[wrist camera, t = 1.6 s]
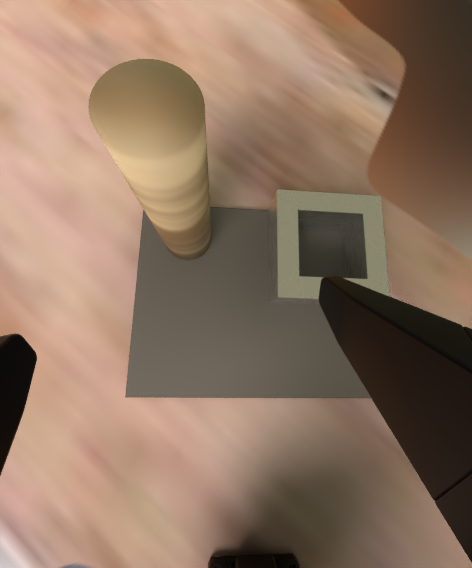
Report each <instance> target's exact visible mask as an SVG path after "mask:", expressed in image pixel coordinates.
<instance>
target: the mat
mask: <svg viewBox="0 0 472 568" xmlns="http://www.w3.org/2000/svg"><path fill="white" fill-rule="evenodd" d="M210 221H211V244H210V247H209V249H208V250H207V252H206V253H205V254H204V255H202V256H201V257H199V258H197V259H194V260H182V259H179V258H177V257H175V256H174V255H172V254H171V253H170V252H169V250H168V249H167V247H166V245H165V244H164V242H163V240H162V239H161V237H160V235H159V234H158V232H157V231H156V229H155V227H154V226H153V224H152V222H151V221H150V219H149V217H148V216H147V214H146V212H145V211H144V210H143V220H142V230H141V241H140V251H139V261H138V272H137V282H136V293H135V303H134V313H133V324H132V334H131V345H130V355H129V365H128V376H127V386H126V396H125V397H178V398H371V397H370V395H369V393H368V392H367V390H366V388H365V387H364V385H363V384H362V382H361V380H360V379H359V377H358V375H357V374H356V372H355V371H354V369H353V367H352V366H351V364H350V362H349V361H348V359H347V357H346V356H345V354H344V353H343V351H342V349H341V347H340V346H339V344H338V342H337V340H336V338H335V336H334V334H333V332H332V330H331V327H330V325H329V323H328V321H327V319H326V317H325V315H324V312H323V310H322V308H321V306H320V304H299V303H268V210H251V209H234V208H217V207H210ZM298 240H299V276H304V277H326V276H332V275H336V276H339V277H341V278H343V260H342V242H341V231H331V230H313V229H298Z"/></svg>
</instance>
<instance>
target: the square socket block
mask: <svg viewBox="0 0 472 568" xmlns="http://www.w3.org/2000/svg"><path fill="white" fill-rule="evenodd" d="M298 229H313V230H331V231H341V242H342V260H343V278H344V279H346V280H349V281H351V282H354V283H357V284H359V285H362V286H364V287H367V288H369V289H372V290H374V291H377V292H379V293H382V294H384V295H387V296H389V297H390V294H389V282H388V271H387V259H386V248H385V237H384V225H383V214H382V203H381V196H371V195H356V194H341V193H326V192H310V191H295V190H280V189H277V191H276V193H275V195H274V198H273V200H272V202H271V204H270V207H269V209H268V303H299V304H319V290H320V284H321V280H322V278H323V277H304V276H299V240H298Z"/></svg>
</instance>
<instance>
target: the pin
mask: <svg viewBox="0 0 472 568" xmlns="http://www.w3.org/2000/svg"><path fill="white" fill-rule="evenodd" d="M89 114H90V118H91V121H92V124H93V126H94V128H95V129H96V131H97V133H98V134H99V136H100V138H101V139H102V141H103V143H104V144H105V146H106V148H107V149H108V151H109V153H110V154H111V156H112V157H113V159H114V161H115V162H116V164H117V166H118V167H119V169H120V171H121V172H122V174H123V176H124V177H125V179H126V181H127V182H128V184H129V186H130V187H131V189H132V191H133V192H134V194H135V196H136V197H137V199H138V201H139V202H140V204H141V206H142V207H143V209H144V211H145V212H146V214H147V216H148V217H149V219H150V221H151V222H152V224H153V226H154V227H155V229H156V231H157V232H158V234H159V235H160V237H161V239H162V240H163V242H164V244H165V245H166V247H167V249H168V250H169V252H170V253H171V254H172V255H174V256H175V257H177V258H179V259H182V260H194V259H197V258H199V257H201V256H202V255H204V254H205V253H206V252H207V250H208V249H209V247H210V244H211V221H210V202H209V182H208V163H207V143H206V124H205V104H204V99H203V95H202V92H201V90H200V88H199V86H198V85H197V84H196V82H195V81H194V80H193V79H192V77H191V76H190V75H188V74H187V73H186V72H185V71H183V70H182V69H180V68H179V67H177V66H175V65H173V64H170V63H167V62H164V61H160V60H154V59H137V60H131V61H127V62H124V63H121V64H119V65H117V66H115V67H113V68H111V69H110V70H108V71H107V72H106V73H105V74H104V75H102V76H101V77H100V79H99V80H98V81H97V82H96V84H95V86H94V87H93V89H92V92H91V95H90V99H89Z"/></svg>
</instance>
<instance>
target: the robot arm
mask: <svg viewBox="0 0 472 568" xmlns="http://www.w3.org/2000/svg"><path fill="white" fill-rule="evenodd" d="M319 304H320V306H321V308H322V310H323V312H324V315H325V317H326V319H327V321H328V323H329V325H330V327H331V330H332V332H333V334H334V336H335V338H336V340H337V342H338V344H339V346H340V347H341V349H342V351H343V353H344V354H345V356H346V357H347V359H348V361H349V362H350V364H351V366H352V367H353V369H354V371H355V372H356V374H357V375H358V377H359V379H360V380H361V382H362V384H363V385H364V387H365V388H366V390H367V392H368V393H369V395H370V397H371V398H372V400H373V402H374V403H375V405H376V406H377V408H378V410H379V411H380V413H381V415H382V416H383V418H384V420H385V421H386V423H387V424H388V426H389V428H390V429H391V431H392V433H393V434H394V436H395V438H396V439H397V441H398V442H399V444H400V446H401V447H402V449H403V451H404V452H405V454H406V456H407V457H408V459H409V460H410V462H411V464H412V465H413V467H414V469H415V470H416V472H417V473H418V475H419V477H420V478H421V480H422V482H423V483H424V485H425V487H426V488H427V490H428V491H429V493H430V495H431V496H432V498H433V499H434V500H435V503H436V505H437V507H438V508H439V510H440V512H441V513H442V515H443V516H444V518H445V520H446V521H447V523H448V525H449V526H450V528H451V529H452V531H453V533H454V534H455V536H456V538H457V539H458V541H459V543H460V544H461V546H462V547H463V549H464V551H465V552H466V554H467V556H468V557H469V559H470V561H471V562H472V329H470V328H468V327H462V325H460V324H457V323H455V322H452V321H450V320H447V319H445V318H442V317H440V316H437V315H435V314H432V313H430V312H427V311H425V310H422V309H420V308H417V307H415V306H412V305H409V304H407V303H404V302H402V301H399V300H397V299H394V298H392V297H389V296H387V295H384V294H382V293H379V292H377V291H374V290H372V289H369V288H367V287H364V286H362V285H359V284H357V283H354V282H351V281H349V280H346V279H344V278H341V277H339V276H336V275H332V276H326V277H323V278H322V280H321V284H320V290H319ZM36 361H37V356H36V352H35V351H34V350H33V348H32V347H31V346H30V345H29V344H28V343H27V341H26V340H25V339H24V338H23V337H22V336H21V335H19V334H10V335H4V336H0V475H1V472H2V470H3V467H4V464H5V462H6V459H7V456H8V453H9V451H10V448H11V445H12V442H13V440H14V437H15V434H16V432H17V429H18V426H19V423H20V421H21V418H22V415H23V412H24V408H25V405H26V401H27V397H28V393H29V389H30V385H31V381H32V377H33V373H34V369H35V365H36ZM291 563H294V565H293V566H289V565H290V564H291ZM215 566H216V567H218V568H299V563H298V560H297V558H296V556H295V555H294V554H275V555H248V556H229V557H214V558H212V559H211V560H210V561H209V563H208V568H213V567H215Z"/></svg>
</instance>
